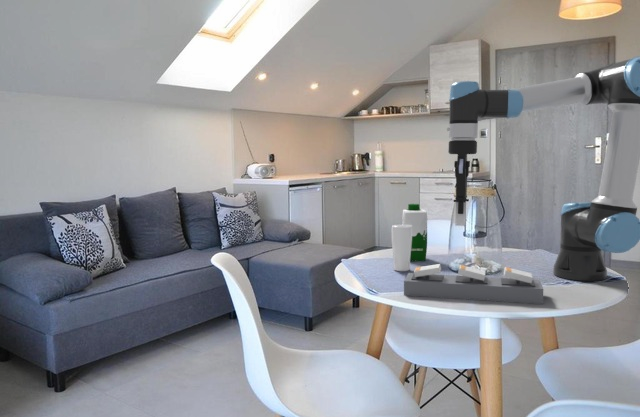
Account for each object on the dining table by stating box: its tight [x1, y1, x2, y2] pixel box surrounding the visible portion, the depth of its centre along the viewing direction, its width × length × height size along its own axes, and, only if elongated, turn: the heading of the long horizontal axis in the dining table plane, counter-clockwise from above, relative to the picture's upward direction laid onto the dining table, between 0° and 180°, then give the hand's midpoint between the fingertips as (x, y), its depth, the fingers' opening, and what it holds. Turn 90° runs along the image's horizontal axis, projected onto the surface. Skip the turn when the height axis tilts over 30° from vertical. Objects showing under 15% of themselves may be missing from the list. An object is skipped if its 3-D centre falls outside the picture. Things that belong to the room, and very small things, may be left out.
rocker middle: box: [457, 264, 486, 281], centre depth 148 cm, size 7×5×2 cm
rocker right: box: [503, 266, 534, 283], centre depth 145 cm, size 7×5×2 cm
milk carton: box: [402, 203, 428, 262], centre depth 195 cm, size 9×9×20 cm
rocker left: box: [413, 263, 442, 277], centre depth 152 cm, size 7×5×2 cm
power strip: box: [403, 272, 544, 305], centre depth 149 cm, size 36×10×5 cm, turn 73°
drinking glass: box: [391, 224, 412, 272], centre depth 178 cm, size 7×7×15 cm
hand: (460, 225), depth 149 cm, fingers closed
